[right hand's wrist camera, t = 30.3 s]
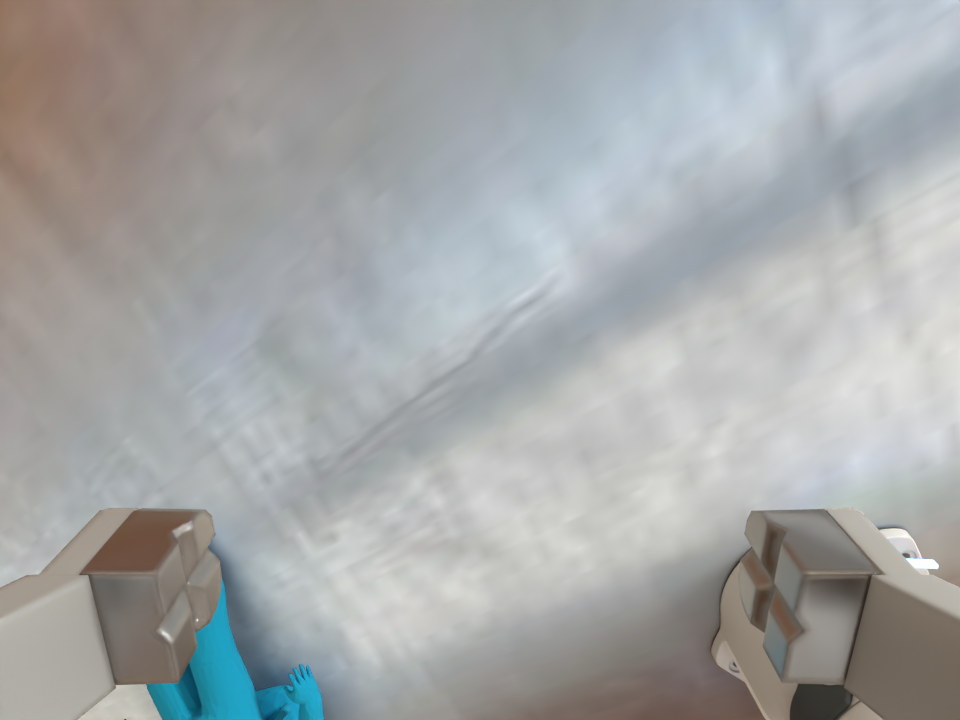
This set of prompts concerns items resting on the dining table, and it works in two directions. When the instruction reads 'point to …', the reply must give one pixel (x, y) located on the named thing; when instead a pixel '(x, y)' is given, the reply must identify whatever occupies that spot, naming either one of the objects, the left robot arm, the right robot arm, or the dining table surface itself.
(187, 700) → the toy
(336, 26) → the dining table surface
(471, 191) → the dining table surface
